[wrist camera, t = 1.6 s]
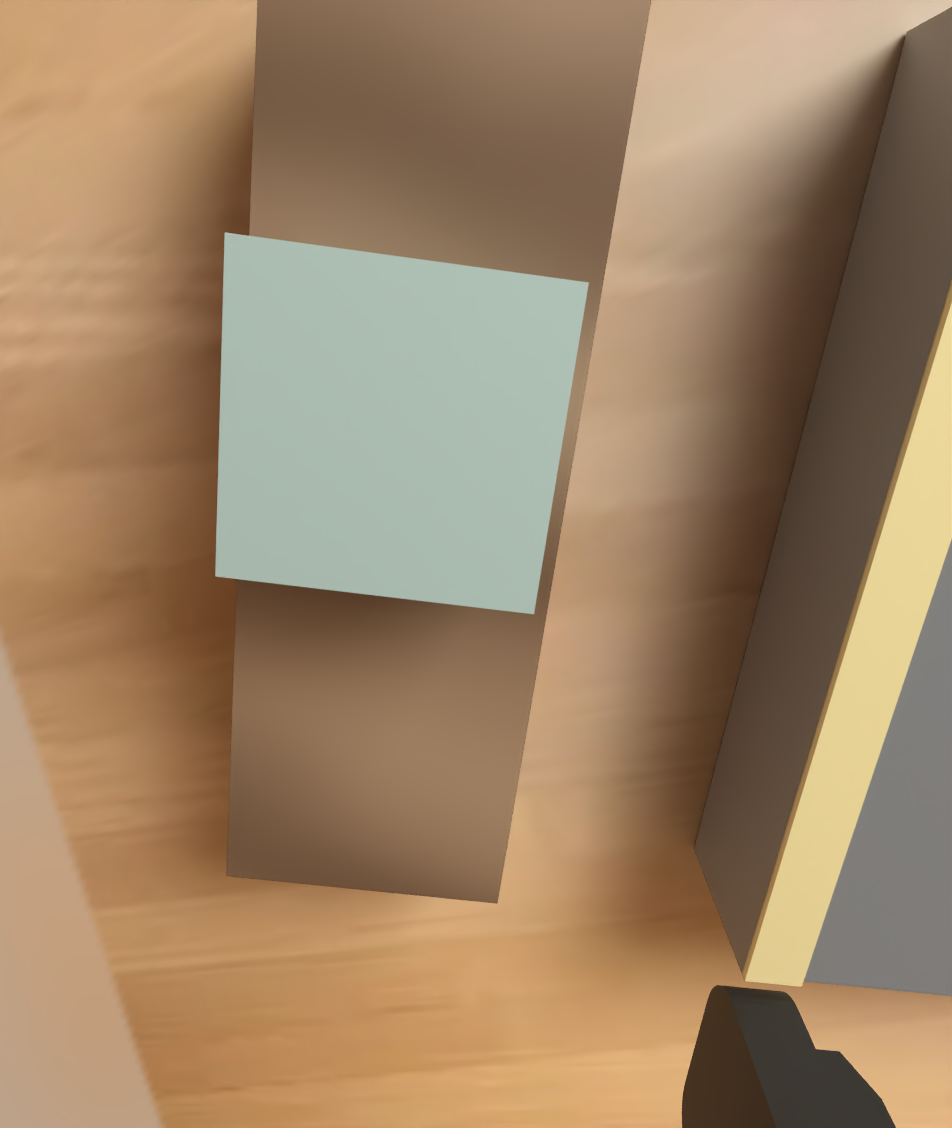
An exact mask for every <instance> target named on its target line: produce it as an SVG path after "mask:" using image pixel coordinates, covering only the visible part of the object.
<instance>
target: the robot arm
mask: <svg viewBox="0 0 952 1128" xmlns="http://www.w3.org/2000/svg"><path fill="white" fill-rule="evenodd" d="M682 1128H896V1127H895V1125H894V1123H893V1121H892V1119H891V1117H890V1115H889V1113H888V1111H887V1109H886V1107H885V1105H884V1103H883V1101H882V1099H881V1098H880V1097H879V1096H878V1095H877V1093H876V1092H875V1091H874V1090H873V1089H872V1088H871V1087H870V1085H869V1084H868V1083H867V1082H866V1081H865V1080H864V1079H863V1078H862V1076H861V1075H860V1074H859V1073H858V1072H857V1071H856V1070H855V1069H854V1067H853V1066H852V1065H851V1064H850V1063H849V1062H848V1061H847V1060H846V1058H845V1057H844V1056H843V1055H842V1054H841V1053H840V1052H839V1051H828V1050H818V1049H815V1047H814V1044H813V1042H812V1040H811V1038H810V1035H809V1033H808V1031H807V1029H806V1026H805V1024H804V1022H803V1020H802V1018H801V1015H800V1013H799V1011H798V1009H797V1007H796V1005H795V1003H794V1001H793V1000H792V998H791V997H790V996H789V995H788V994H787V993H785V992H781V991H771V990H761V989H750V988H740V987H730V986H719V985H717V986H715V987H714V988H713V989H712V990H711V992H710V994H709V997H708V1001H707V1004H706V1008H705V1012H704V1015H703V1019H702V1023H701V1026H700V1030H699V1034H698V1037H697V1041H696V1045H695V1048H694V1052H693V1056H692V1060H691V1063H690V1067H689V1071H688V1074H687V1078H686V1082H685V1086H684V1091H683V1100H682Z"/></svg>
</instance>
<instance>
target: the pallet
mask: <svg viewBox="0 0 952 1128" xmlns="http://www.w3.org/2000/svg"><path fill="white" fill-rule="evenodd" d="M650 4H651V0H258V2H257V30H256V58H255V86H254V114H253V142H252V170H251V198H250V226H249V236H255V237H262V238H269V239H276V240H284V241H291V242H298V243H305V244H313V245H320V246H327V247H334V248H342V249H349V250H356V251H364V252H371V253H378V254H385V255H393V256H400V257H407V258H414V259H422V260H429V261H436V262H443V263H451V264H458V265H465V266H472V267H480V268H487V269H494V270H501V271H509V272H516V273H523V274H530V275H538V276H545V277H552V278H559V279H567V280H574V281H581V282H588V283H589V285H588V291H587V297H586V303H585V309H584V315H583V321H582V327H581V333H580V339H579V345H578V351H577V357H576V363H575V369H574V376H573V382H572V388H571V394H570V400H569V406H568V412H567V418H566V424H565V430H564V436H563V442H562V448H561V454H560V460H559V466H558V472H557V478H556V484H555V490H554V496H553V502H552V508H551V514H550V521H549V527H548V533H547V539H546V545H545V551H544V557H543V563H542V569H541V575H540V581H539V587H538V593H537V599H536V605H535V611H534V614H528V613H519V612H511V611H502V610H494V609H486V608H477V607H469V606H460V605H452V604H443V603H435V602H426V601H418V600H410V599H401V598H393V597H384V596H376V595H367V594H359V593H351V592H342V591H334V590H325V589H317V588H308V587H300V586H291V585H283V584H275V583H266V582H258V581H249V580H241V579H237V591H236V619H235V647H234V675H233V703H232V731H231V759H230V787H229V815H228V843H227V871H226V876H231V877H241V878H251V879H261V880H271V881H280V882H290V883H300V884H310V885H320V886H330V887H340V888H350V889H359V890H369V891H379V892H389V893H399V894H409V895H419V896H429V897H438V898H448V899H458V900H468V901H478V902H488V903H497V902H498V897H499V891H500V885H501V879H502V873H503V867H504V861H505V856H506V850H507V844H508V838H509V832H510V826H511V820H512V814H513V809H514V803H515V797H516V791H517V785H518V779H519V773H520V767H521V762H522V756H523V750H524V744H525V738H526V732H527V726H528V721H529V715H530V709H531V703H532V697H533V691H534V685H535V679H536V674H537V668H538V662H539V656H540V650H541V644H542V638H543V632H544V627H545V621H546V615H547V609H548V603H549V597H550V591H551V586H552V580H553V574H554V568H555V562H556V556H557V550H558V544H559V539H560V533H561V527H562V521H563V515H564V509H565V503H566V497H567V492H568V486H569V480H570V474H571V468H572V462H573V456H574V450H575V445H576V439H577V433H578V427H579V421H580V415H581V409H582V404H583V398H584V392H585V386H586V380H587V374H588V368H589V362H590V357H591V351H592V345H593V339H594V333H595V327H596V321H597V315H598V310H599V304H600V298H601V292H602V286H603V280H604V274H605V269H606V263H607V257H608V251H609V245H610V239H611V233H612V227H613V222H614V216H615V210H616V204H617V198H618V192H619V186H620V180H621V175H622V169H623V163H624V157H625V151H626V145H627V139H628V133H629V128H630V122H631V116H632V110H633V104H634V98H635V92H636V87H637V81H638V75H639V69H640V63H641V57H642V51H643V45H644V40H645V34H646V28H647V22H648V16H649V10H650Z"/></svg>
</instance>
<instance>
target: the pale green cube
mask: <svg viewBox="0 0 952 1128" xmlns="http://www.w3.org/2000/svg"><path fill="white" fill-rule="evenodd" d="M588 285H589V283H588V282H581V281H574V280H567V279H559V278H552V277H545V276H538V275H530V274H523V273H516V272H509V271H501V270H494V269H487V268H480V267H472V266H465V265H458V264H451V263H443V262H436V261H429V260H422V259H414V258H407V257H400V256H393V255H385V254H378V253H371V252H364V251H356V250H349V249H342V248H334V247H327V246H320V245H313V244H305V243H298V242H291V241H284V240H276V239H269V238H262V237H255V236H247V235H240V234H233V233H226V232H225V238H224V275H223V311H222V348H221V384H220V421H219V457H218V494H217V530H216V567H215V576H216V577H224V578H232V579H241V580H249V581H258V582H266V583H275V584H283V585H291V586H300V587H308V588H317V589H325V590H334V591H342V592H351V593H359V594H367V595H376V596H384V597H393V598H401V599H410V600H418V601H426V602H435V603H443V604H452V605H460V606H469V607H477V608H486V609H494V610H502V611H511V612H519V613H528V614H534V611H535V605H536V599H537V593H538V587H539V581H540V575H541V569H542V563H543V557H544V551H545V545H546V539H547V533H548V527H549V521H550V514H551V508H552V502H553V496H554V490H555V484H556V478H557V472H558V466H559V460H560V454H561V448H562V442H563V436H564V430H565V424H566V418H567V412H568V406H569V400H570V394H571V388H572V382H573V376H574V369H575V363H576V357H577V351H578V345H579V339H580V333H581V327H582V321H583V315H584V309H585V303H586V297H587V291H588Z"/></svg>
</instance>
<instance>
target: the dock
mask: <svg viewBox="0 0 952 1128" xmlns="http://www.w3.org/2000/svg"><path fill="white" fill-rule="evenodd" d="M694 850H695V853H696V855H697V858H698V860H699V863H700V866H701V868H702V871H703V873H704V876H705V879H706V881H707V884H708V886H709V889H710V892H711V894H712V897H713V899H714V902H715V905H716V907H717V910H718V912H719V915H720V918H721V920H722V923H723V925H724V928H725V931H726V933H727V936H728V939H729V941H730V944H731V946H732V949H733V952H734V954H735V957H736V959H737V962H738V965H739V967H740V970H741V972H742V975H743V978H744V980H745V981H748V982H758V983H769V984H779V985H789V986H799V987H802V984H803V981H805V982H815V983H826V984H836V985H846V986H856V987H866V988H876V989H886V990H897V991H907V992H917V993H927V994H937V995H947V996H952V7H951V8H949V9H947V10H946V11H944V12H942V13H940V14H938V15H937V16H935V17H933V18H931V19H929V20H928V21H926V22H924V23H922V24H920V25H918V26H917V27H915V28H913V29H911V30H909V31H908V32H907V33H906V37H905V41H904V45H903V49H902V53H901V56H900V60H899V64H898V68H897V72H896V76H895V79H894V83H893V87H892V91H891V95H890V99H889V102H888V106H887V110H886V114H885V118H884V122H883V125H882V129H881V133H880V137H879V141H878V145H877V148H876V152H875V156H874V160H873V164H872V168H871V171H870V175H869V179H868V183H867V187H866V191H865V194H864V198H863V202H862V206H861V210H860V214H859V218H858V221H857V225H856V229H855V233H854V237H853V241H852V244H851V248H850V252H849V256H848V260H847V264H846V267H845V271H844V275H843V279H842V283H841V287H840V290H839V294H838V298H837V302H836V306H835V310H834V313H833V317H832V321H831V325H830V329H829V333H828V336H827V340H826V344H825V348H824V352H823V356H822V359H821V363H820V367H819V371H818V375H817V379H816V383H815V386H814V390H813V394H812V398H811V402H810V406H809V409H808V413H807V417H806V421H805V425H804V429H803V432H802V436H801V440H800V444H799V448H798V452H797V455H796V459H795V463H794V467H793V471H792V475H791V478H790V482H789V486H788V490H787V494H786V498H785V501H784V505H783V509H782V513H781V517H780V521H779V524H778V528H777V532H776V536H775V540H774V544H773V547H772V551H771V555H770V559H769V563H768V567H767V571H766V574H765V578H764V582H763V586H762V590H761V594H760V597H759V601H758V605H757V609H756V613H755V617H754V620H753V624H752V628H751V632H750V636H749V640H748V643H747V647H746V651H745V655H744V659H743V663H742V666H741V670H740V674H739V678H738V682H737V686H736V689H735V693H734V697H733V701H732V705H731V709H730V712H729V716H728V720H727V724H726V728H725V732H724V736H723V739H722V743H721V747H720V751H719V755H718V759H717V762H716V766H715V770H714V774H713V778H712V782H711V785H710V789H709V793H708V797H707V801H706V805H705V808H704V812H703V816H702V820H701V824H700V828H699V831H698V835H697V839H696V843H695V847H694Z"/></svg>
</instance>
